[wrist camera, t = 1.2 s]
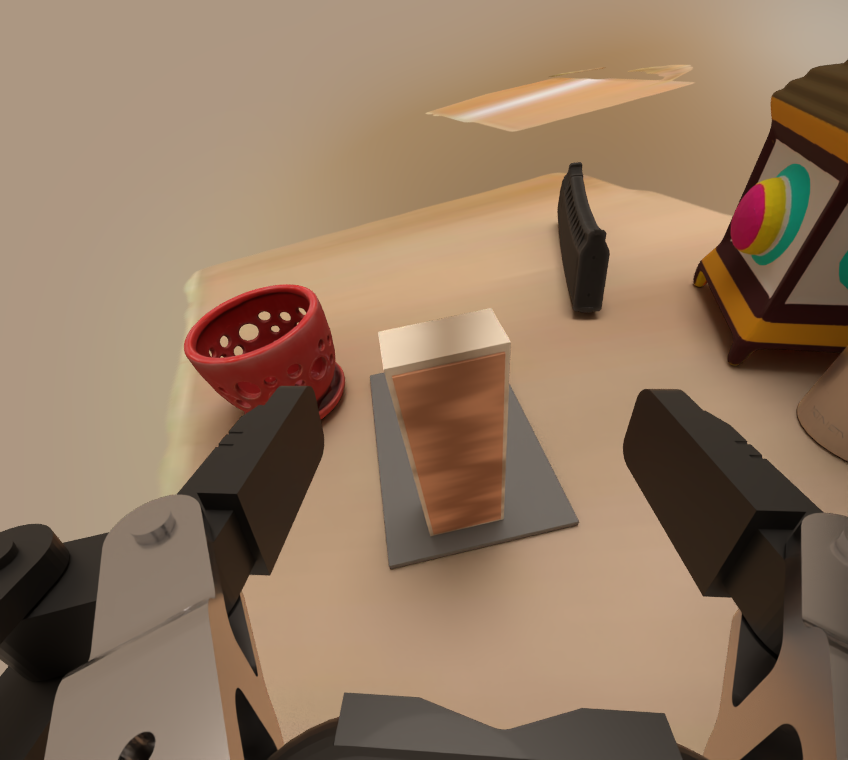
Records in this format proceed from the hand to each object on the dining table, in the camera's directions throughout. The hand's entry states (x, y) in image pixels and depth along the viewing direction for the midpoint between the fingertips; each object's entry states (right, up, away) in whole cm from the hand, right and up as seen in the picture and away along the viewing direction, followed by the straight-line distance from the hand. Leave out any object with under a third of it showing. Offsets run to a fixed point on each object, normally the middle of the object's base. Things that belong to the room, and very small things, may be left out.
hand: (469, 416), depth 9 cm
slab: (+2, -10, +21) cm, 23 cm away
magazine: (+22, +19, +49) cm, 57 cm away
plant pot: (-16, -2, +34) cm, 38 cm away
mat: (+2, -5, +27) cm, 28 cm away
